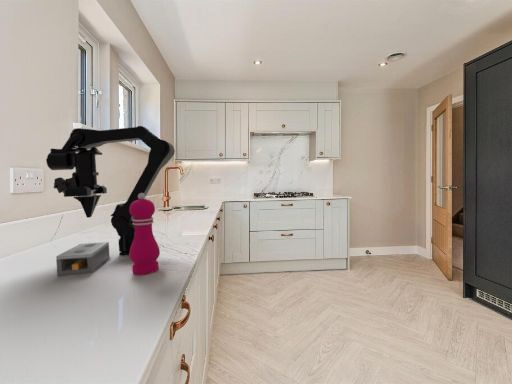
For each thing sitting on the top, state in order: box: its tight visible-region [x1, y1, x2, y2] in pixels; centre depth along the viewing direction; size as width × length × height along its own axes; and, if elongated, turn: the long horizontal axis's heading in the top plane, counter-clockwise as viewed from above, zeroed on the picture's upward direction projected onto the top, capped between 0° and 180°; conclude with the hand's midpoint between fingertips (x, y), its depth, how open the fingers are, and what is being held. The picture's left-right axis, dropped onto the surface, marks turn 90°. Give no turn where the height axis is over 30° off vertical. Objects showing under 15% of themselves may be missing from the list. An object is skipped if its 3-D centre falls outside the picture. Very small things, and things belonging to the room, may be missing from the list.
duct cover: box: [55, 241, 110, 260], centre depth 76 cm, size 8×14×1 cm, turn 12°
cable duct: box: [55, 245, 111, 276], centre depth 77 cm, size 8×14×4 cm, turn 12°
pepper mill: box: [128, 193, 161, 276], centre depth 70 cm, size 7×7×20 cm
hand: (89, 217), depth 89 cm, fingers closed
